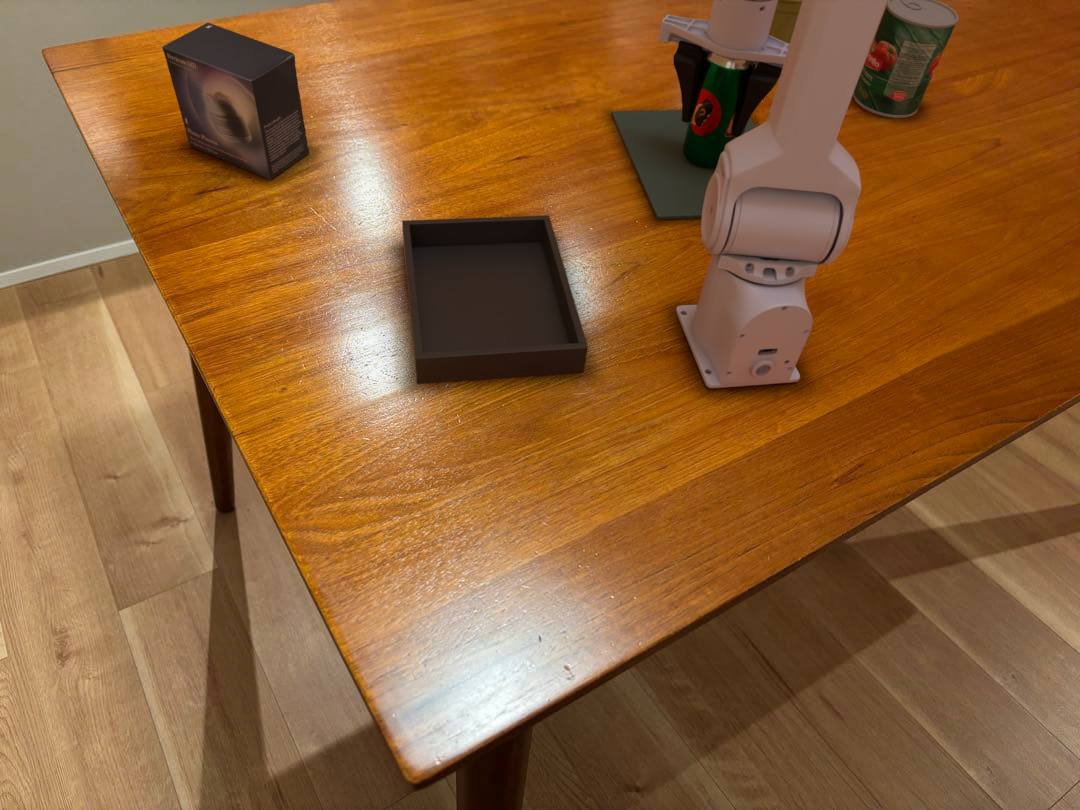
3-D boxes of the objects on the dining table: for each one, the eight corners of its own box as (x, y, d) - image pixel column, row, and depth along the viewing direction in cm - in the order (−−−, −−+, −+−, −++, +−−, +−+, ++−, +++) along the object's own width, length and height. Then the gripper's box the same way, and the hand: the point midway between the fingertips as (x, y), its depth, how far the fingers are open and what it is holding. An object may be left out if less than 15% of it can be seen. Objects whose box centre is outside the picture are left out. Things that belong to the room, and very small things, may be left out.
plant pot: (716, 41, 107) (733, -29, 101) (774, 33, 110) (794, -36, 104) (757, 75, 102) (778, 3, 95) (817, 65, 105) (841, -5, 98)
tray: (583, 372, 65) (588, 347, 63) (416, 384, 63) (415, 358, 61) (546, 240, 76) (549, 214, 74) (403, 246, 74) (402, 220, 72)
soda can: (727, 174, 85) (759, 62, 76) (679, 166, 86) (705, 53, 77) (729, 149, 89) (760, 39, 80) (683, 141, 89) (708, 31, 80)
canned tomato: (931, 114, 99) (974, 21, 90) (878, 122, 96) (918, 28, 88) (890, 82, 103) (927, -8, 95) (839, 89, 101) (873, -3, 93)
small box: (184, 148, 82) (156, 44, 74) (230, 121, 86) (207, 19, 78) (269, 183, 79) (248, 78, 71) (312, 152, 83) (297, 50, 75)
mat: (808, 214, 82) (810, 211, 82) (656, 220, 80) (657, 216, 79) (743, 112, 95) (744, 109, 95) (611, 114, 93) (611, 111, 92)
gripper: (835, -8, 75) (790, 127, 85) (686, -45, 78) (659, 90, 89) (820, 20, 71) (774, 159, 81) (662, -20, 74) (637, 119, 84)
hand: (713, 125), depth 84 cm, fingers closed on soda can, 5 cm apart
